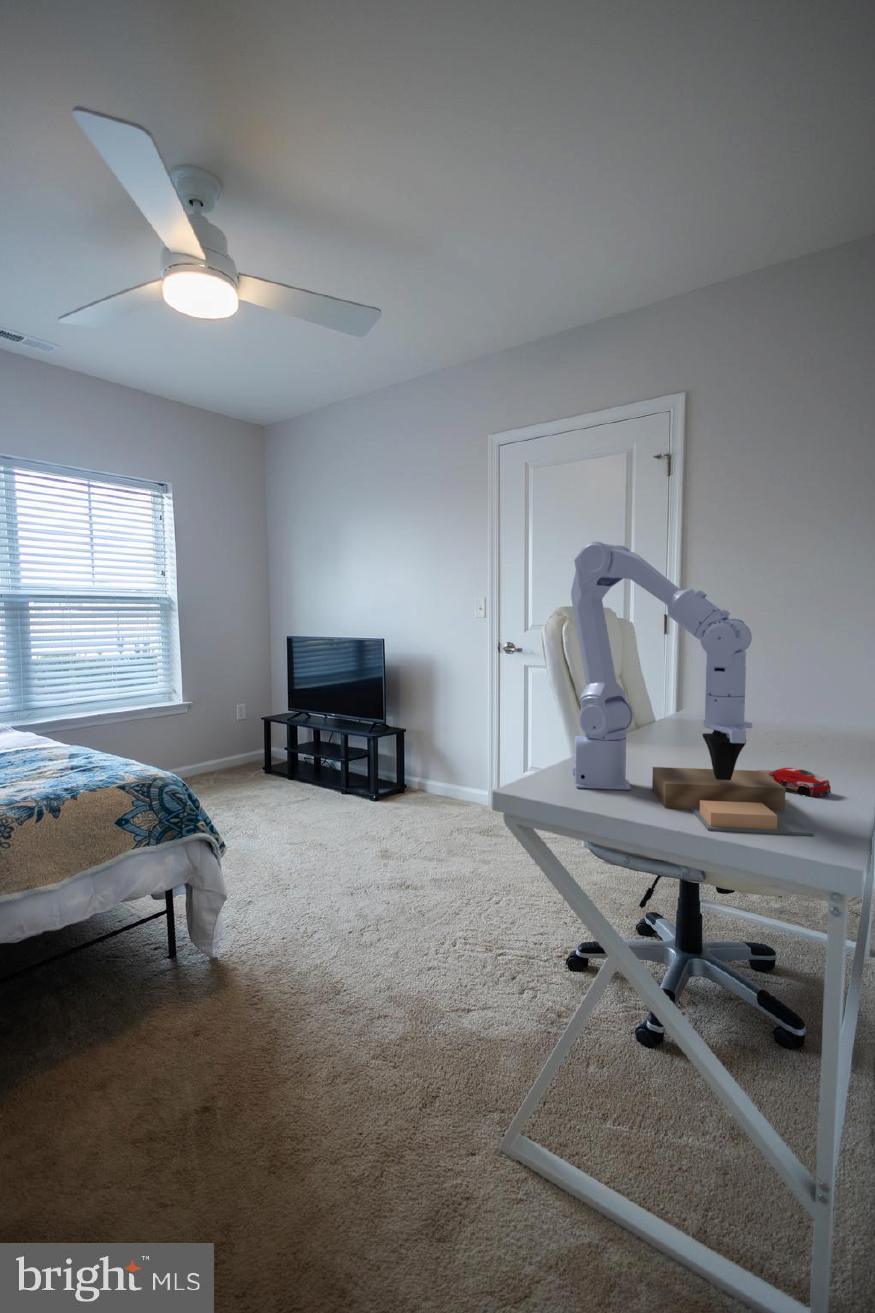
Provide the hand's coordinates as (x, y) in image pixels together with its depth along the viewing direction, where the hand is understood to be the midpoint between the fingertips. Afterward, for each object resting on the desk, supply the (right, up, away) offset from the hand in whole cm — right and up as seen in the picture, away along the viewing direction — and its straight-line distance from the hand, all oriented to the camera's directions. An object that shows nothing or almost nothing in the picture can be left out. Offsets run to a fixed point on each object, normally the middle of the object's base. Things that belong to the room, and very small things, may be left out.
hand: (722, 779), depth 98 cm
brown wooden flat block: (+1, -5, +5) cm, 7 cm away
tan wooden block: (-1, -3, -7) cm, 8 cm away
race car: (+17, -5, +12) cm, 21 cm away
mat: (+1, -5, -6) cm, 8 cm away
